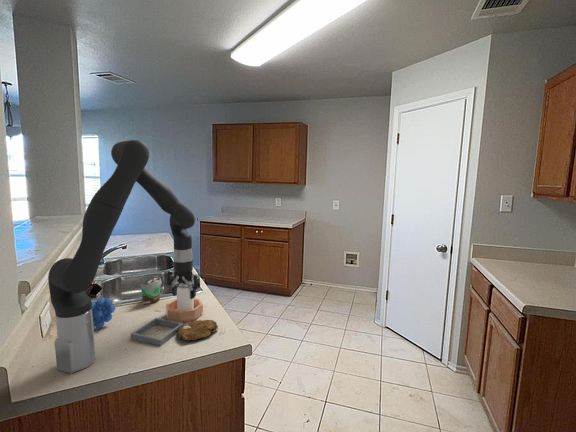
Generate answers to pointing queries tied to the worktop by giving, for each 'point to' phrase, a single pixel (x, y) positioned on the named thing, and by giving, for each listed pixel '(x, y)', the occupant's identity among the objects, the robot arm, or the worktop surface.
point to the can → (184, 298)
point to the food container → (151, 291)
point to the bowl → (184, 315)
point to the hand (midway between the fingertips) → (183, 296)
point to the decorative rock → (196, 329)
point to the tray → (153, 340)
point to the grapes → (102, 312)
